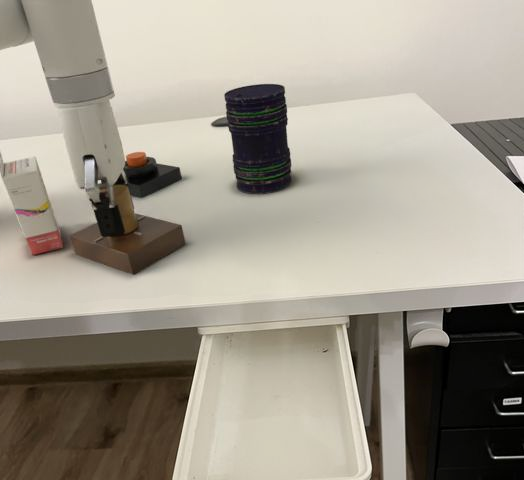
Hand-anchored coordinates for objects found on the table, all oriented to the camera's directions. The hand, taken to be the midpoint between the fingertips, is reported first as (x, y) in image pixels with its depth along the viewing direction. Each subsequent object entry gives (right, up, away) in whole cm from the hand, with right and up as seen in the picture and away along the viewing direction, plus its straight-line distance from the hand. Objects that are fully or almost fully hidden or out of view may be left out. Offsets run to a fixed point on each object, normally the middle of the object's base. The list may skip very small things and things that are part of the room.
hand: (118, 222), depth 78 cm
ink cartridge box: (-13, -1, +8) cm, 15 cm away
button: (-2, +16, +22) cm, 28 cm away
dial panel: (+1, -4, +2) cm, 4 cm away
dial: (0, -1, +1) cm, 1 cm away
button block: (-2, +13, +25) cm, 28 cm away
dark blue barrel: (+21, +11, +18) cm, 29 cm away
